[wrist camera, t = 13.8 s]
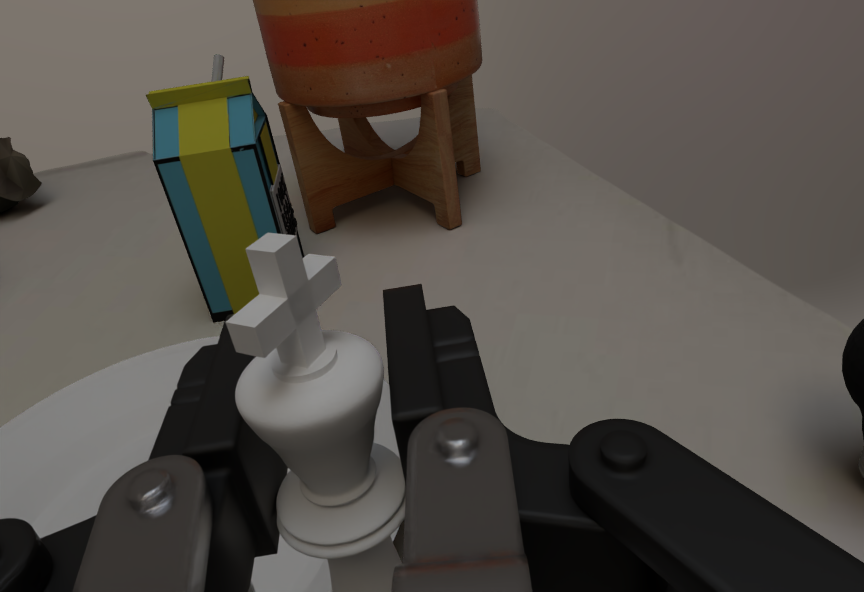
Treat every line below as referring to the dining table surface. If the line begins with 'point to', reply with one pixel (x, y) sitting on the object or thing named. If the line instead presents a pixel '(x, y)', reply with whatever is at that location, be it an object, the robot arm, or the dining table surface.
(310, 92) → the planter
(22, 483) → the white plate
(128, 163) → the dining table surface
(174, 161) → the carton
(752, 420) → the dining table surface
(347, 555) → the chess piece
